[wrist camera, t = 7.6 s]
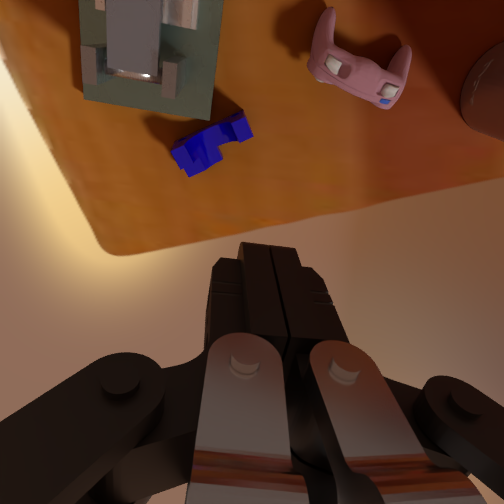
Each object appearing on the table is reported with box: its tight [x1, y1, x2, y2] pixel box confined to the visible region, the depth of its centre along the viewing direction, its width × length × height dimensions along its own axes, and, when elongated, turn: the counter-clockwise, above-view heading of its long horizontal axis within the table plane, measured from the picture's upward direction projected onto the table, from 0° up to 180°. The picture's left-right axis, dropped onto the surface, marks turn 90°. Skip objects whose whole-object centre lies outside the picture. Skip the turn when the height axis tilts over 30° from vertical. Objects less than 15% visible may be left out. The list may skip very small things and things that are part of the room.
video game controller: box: [307, 7, 412, 109], centre depth 33 cm, size 10×5×7 cm, turn 69°
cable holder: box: [171, 110, 254, 177], centre depth 37 cm, size 8×4×4 cm, turn 113°
